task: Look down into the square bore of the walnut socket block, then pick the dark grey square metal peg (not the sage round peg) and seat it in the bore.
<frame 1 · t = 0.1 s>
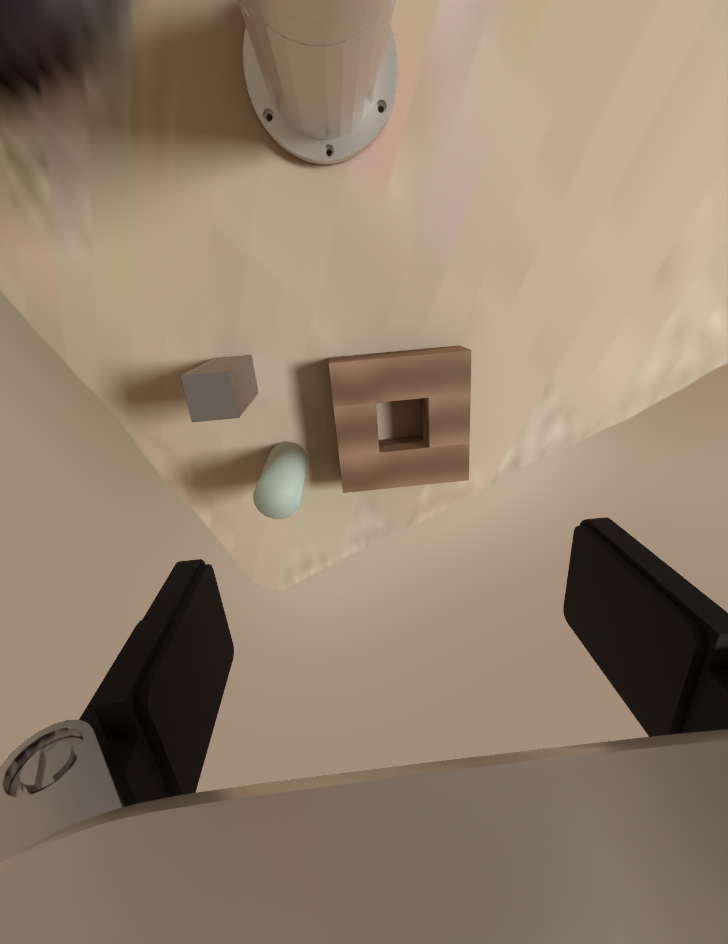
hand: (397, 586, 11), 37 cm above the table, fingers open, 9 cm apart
square peg: (236, 376, 44), on the table
socket block: (397, 415, 47), on the table
round peg: (288, 459, 48), on the table
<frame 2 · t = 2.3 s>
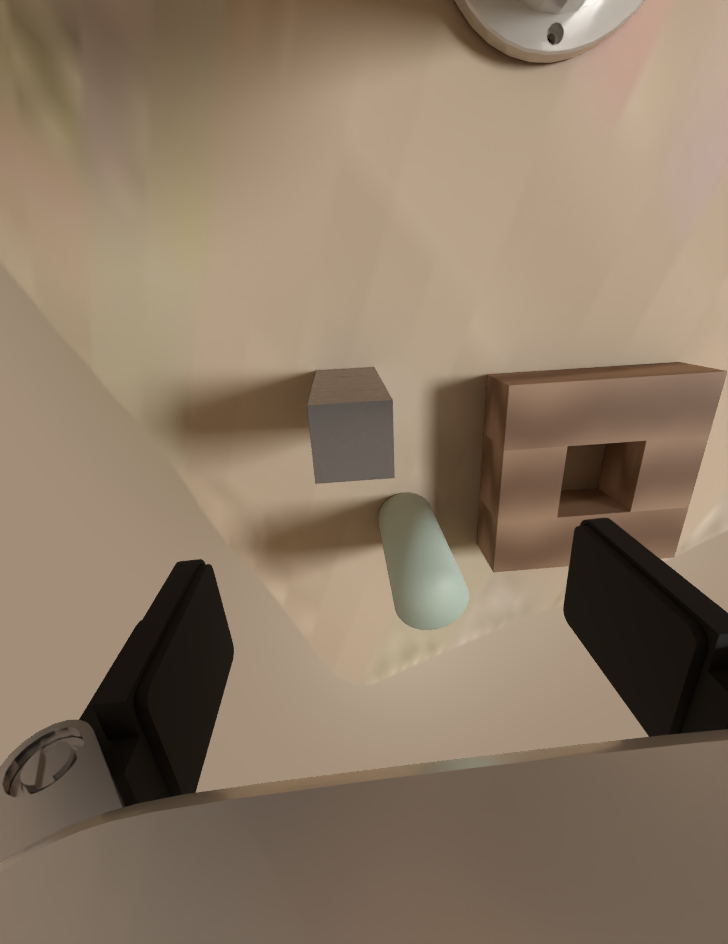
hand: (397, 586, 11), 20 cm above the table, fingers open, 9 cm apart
square peg: (347, 397, 29), on the table
socket block: (570, 459, 32), on the table
round peg: (405, 517, 33), on the table
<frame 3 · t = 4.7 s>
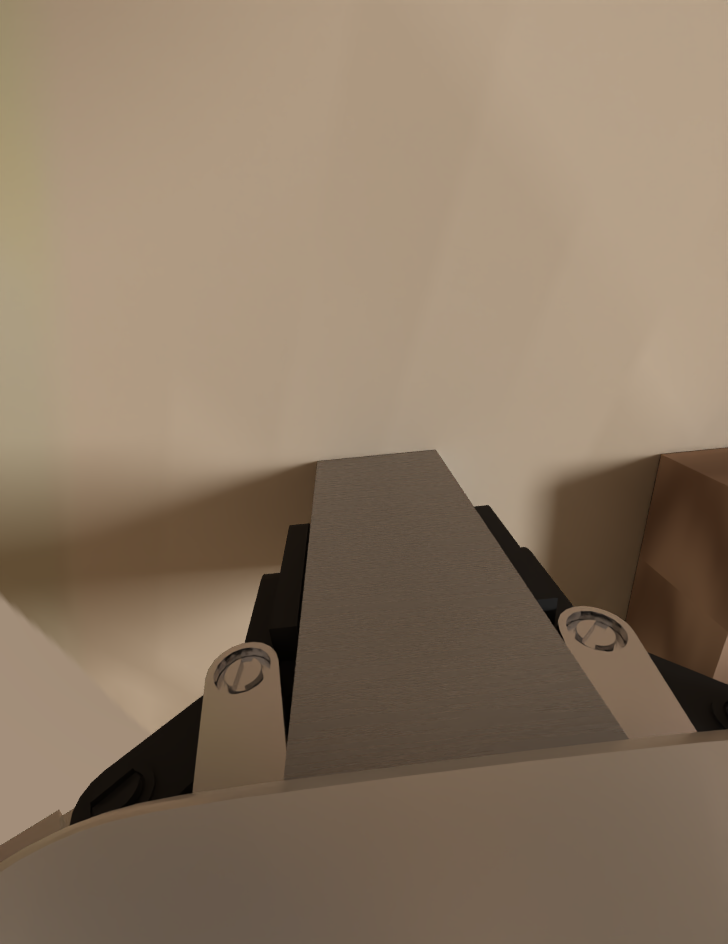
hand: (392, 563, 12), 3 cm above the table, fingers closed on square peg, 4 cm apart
square peg: (380, 508, 15), on the table, touching gripper
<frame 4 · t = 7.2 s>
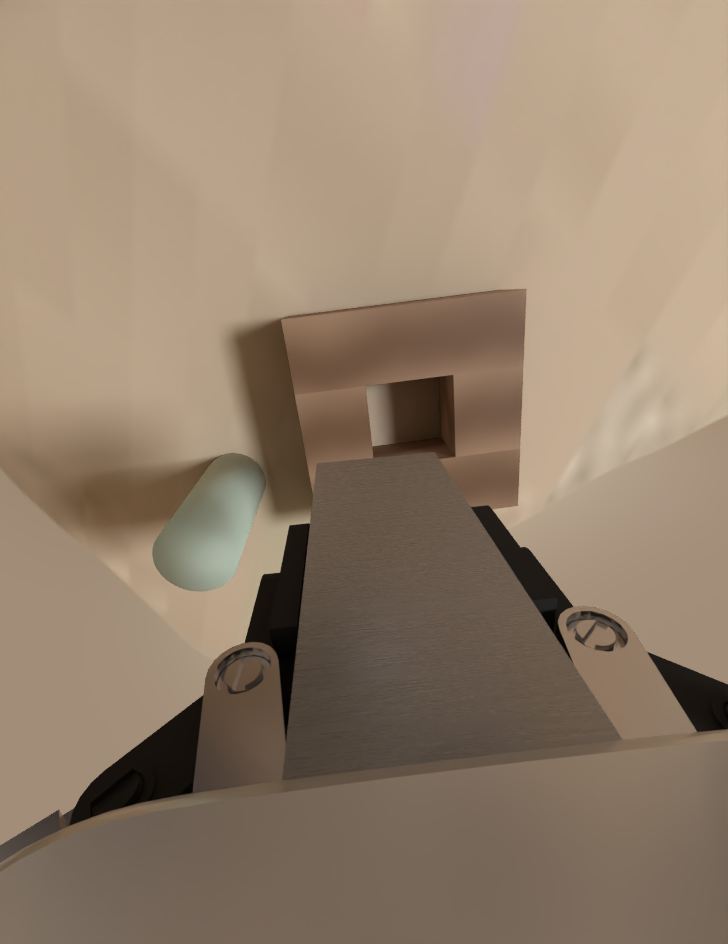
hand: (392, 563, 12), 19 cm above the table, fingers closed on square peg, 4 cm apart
square peg: (379, 510, 15), point 16 cm above the table, touching gripper
socket block: (402, 407, 30), on the table
round peg: (236, 480, 31), on the table
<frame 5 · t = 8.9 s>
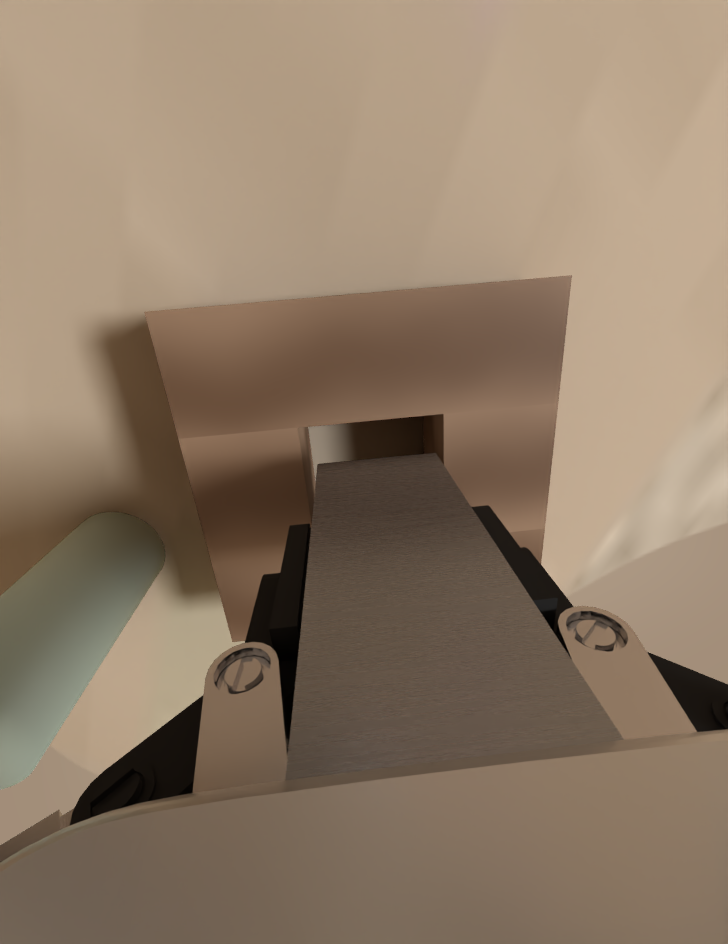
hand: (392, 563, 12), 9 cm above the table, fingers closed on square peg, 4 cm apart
square peg: (380, 510, 15), point 6 cm above the table, touching gripper
socket block: (368, 452, 20), on the table
round peg: (120, 550, 21), on the table
when the fingers open (5 cm above the table, at t = 10.1 s): square peg drops 1 cm, resting in socket block.
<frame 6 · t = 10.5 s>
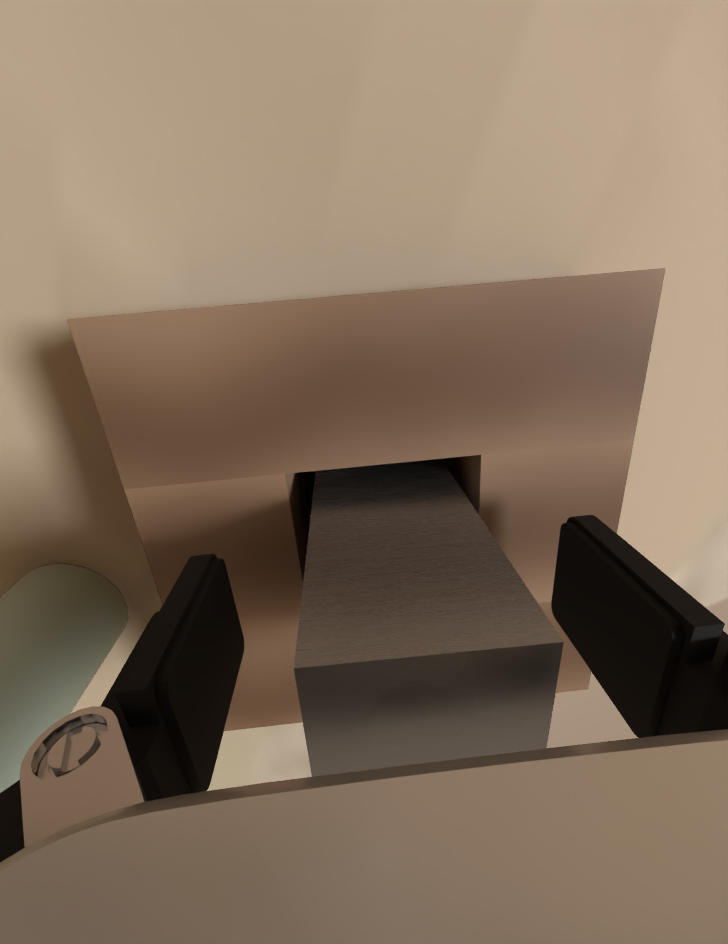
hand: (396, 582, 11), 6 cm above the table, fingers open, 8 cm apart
square peg: (375, 489, 16), resting in socket block
socket block: (376, 490, 16), on the table
round peg: (72, 608, 17), on the table
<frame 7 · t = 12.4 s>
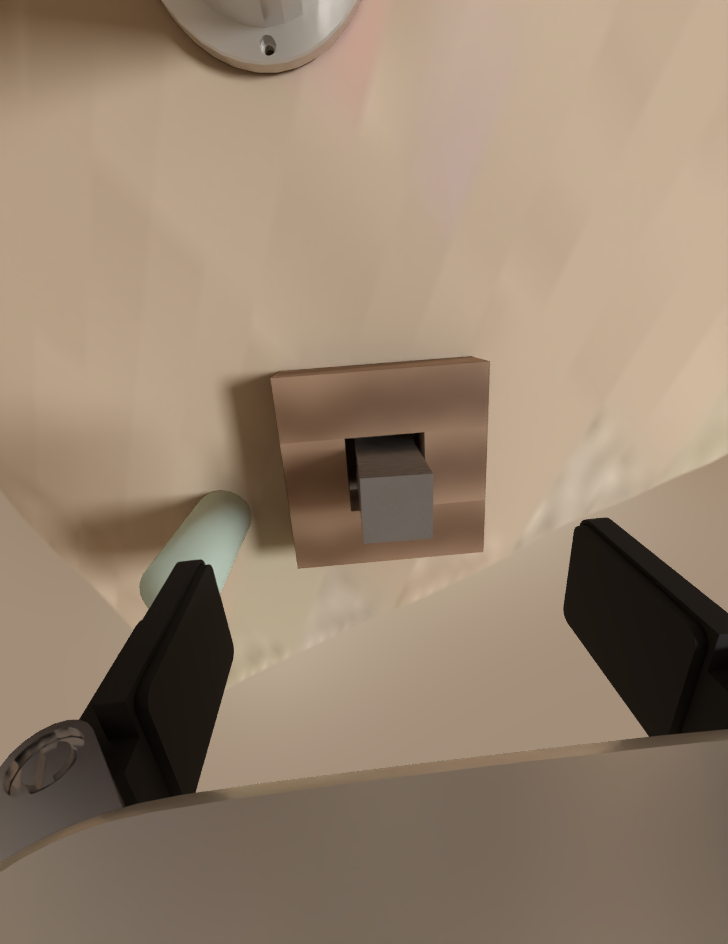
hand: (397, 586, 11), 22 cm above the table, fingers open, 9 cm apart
square peg: (380, 455, 33), resting in socket block
socket block: (381, 455, 32), on the table
round peg: (223, 515, 34), on the table
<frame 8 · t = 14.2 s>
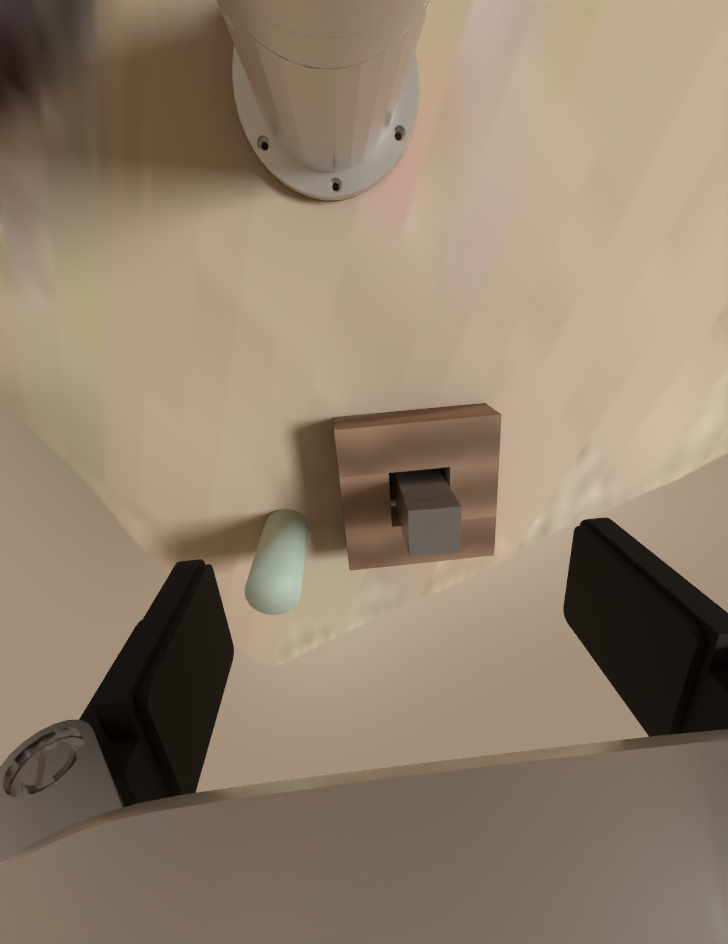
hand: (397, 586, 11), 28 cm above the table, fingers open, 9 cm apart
square peg: (412, 479, 41), resting in socket block
socket block: (412, 479, 41), on the table
round peg: (286, 528, 42), on the table
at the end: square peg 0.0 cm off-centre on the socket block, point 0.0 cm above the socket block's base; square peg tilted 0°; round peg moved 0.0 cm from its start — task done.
